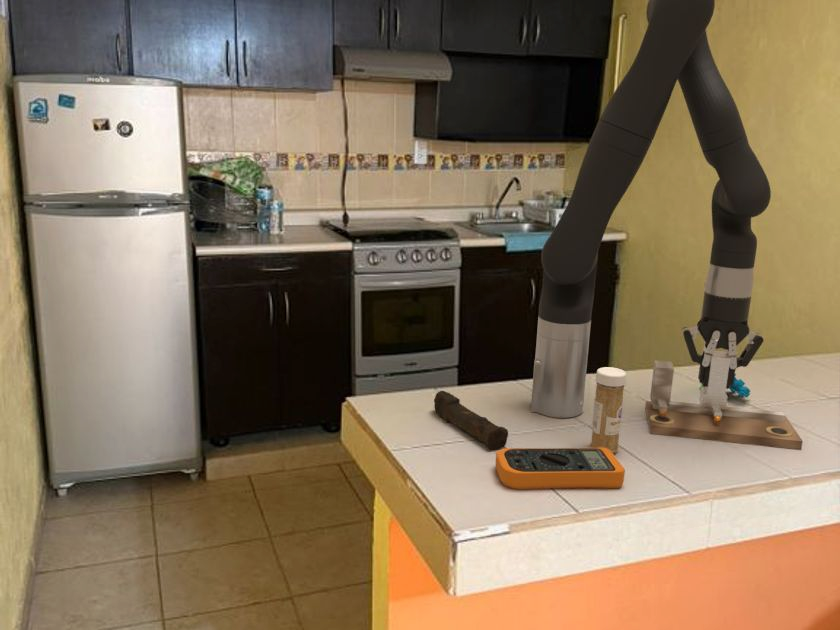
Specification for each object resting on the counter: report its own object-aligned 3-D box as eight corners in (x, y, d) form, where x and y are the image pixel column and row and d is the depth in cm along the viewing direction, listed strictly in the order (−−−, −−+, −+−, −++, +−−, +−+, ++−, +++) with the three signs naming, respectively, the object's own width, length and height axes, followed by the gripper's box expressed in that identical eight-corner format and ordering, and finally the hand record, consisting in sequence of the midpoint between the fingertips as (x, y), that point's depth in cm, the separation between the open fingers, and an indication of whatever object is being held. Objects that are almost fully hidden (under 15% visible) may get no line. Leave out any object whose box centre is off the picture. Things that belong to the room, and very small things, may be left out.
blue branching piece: (762, 397, 147) (729, 361, 145) (740, 419, 147) (707, 384, 145) (729, 385, 158) (699, 351, 156) (709, 406, 158) (678, 372, 156)
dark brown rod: (508, 449, 125) (510, 422, 124) (487, 453, 123) (489, 426, 122) (448, 410, 141) (449, 385, 140) (429, 413, 139) (430, 388, 138)
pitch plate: (650, 433, 133) (656, 379, 130) (645, 408, 144) (651, 358, 142) (801, 449, 128) (810, 394, 126) (783, 422, 140) (791, 371, 137)
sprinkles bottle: (617, 457, 123) (625, 376, 119) (588, 453, 124) (595, 373, 121) (619, 446, 127) (627, 368, 124) (590, 442, 128) (598, 364, 125)
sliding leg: (705, 421, 133) (713, 364, 130) (698, 404, 141) (705, 349, 138) (729, 424, 132) (738, 366, 129) (721, 406, 140) (729, 351, 138)
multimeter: (492, 466, 119) (493, 445, 118) (606, 465, 121) (608, 444, 120) (502, 493, 111) (504, 470, 110) (625, 491, 113) (627, 469, 112)
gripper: (687, 292, 131) (675, 389, 135) (776, 299, 128) (761, 397, 133) (682, 283, 138) (671, 375, 142) (766, 289, 135) (752, 383, 140)
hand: (715, 385), depth 137 cm, fingers closed on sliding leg, 3 cm apart
